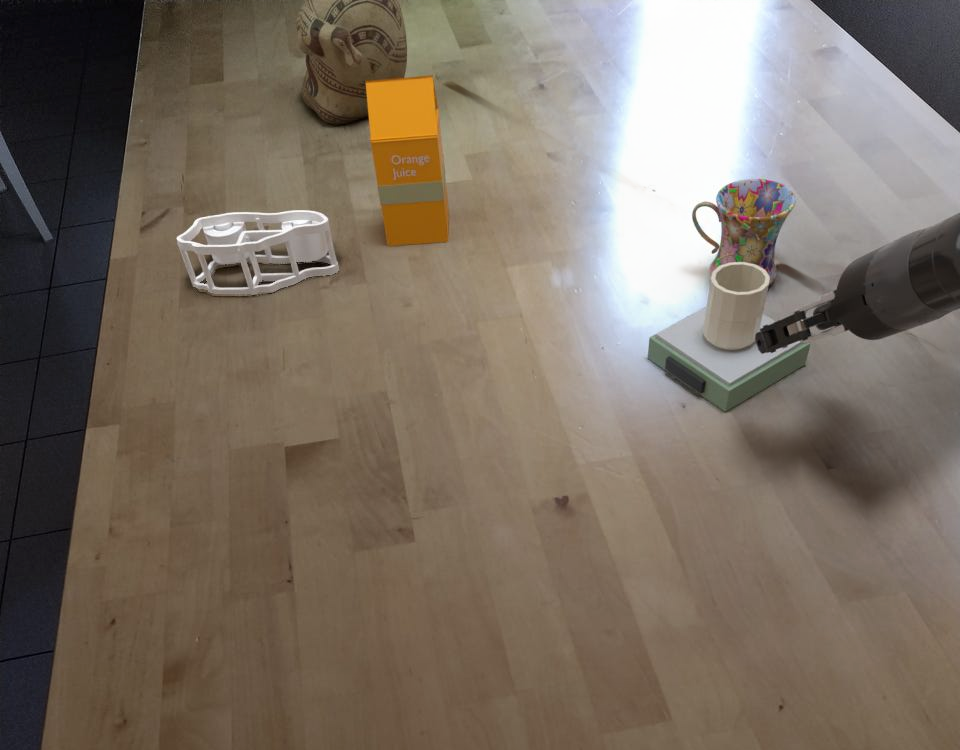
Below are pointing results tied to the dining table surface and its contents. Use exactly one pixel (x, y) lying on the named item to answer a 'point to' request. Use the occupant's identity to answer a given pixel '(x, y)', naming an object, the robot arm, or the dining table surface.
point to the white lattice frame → (260, 248)
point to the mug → (749, 222)
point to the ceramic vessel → (349, 53)
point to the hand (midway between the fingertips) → (794, 330)
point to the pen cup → (735, 305)
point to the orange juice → (408, 159)
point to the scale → (721, 362)
